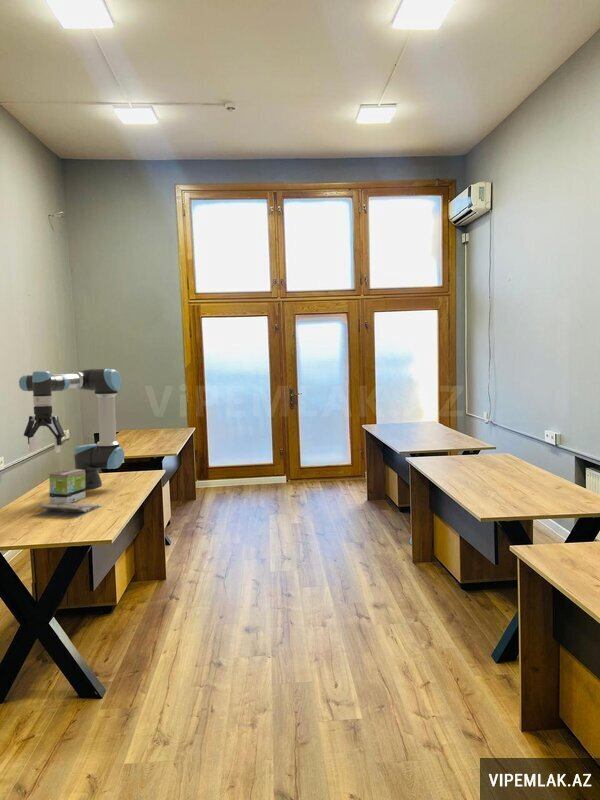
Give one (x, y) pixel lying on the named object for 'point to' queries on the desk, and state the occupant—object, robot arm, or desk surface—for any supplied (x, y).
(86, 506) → the laid board
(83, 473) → the tea box
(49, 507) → the plank
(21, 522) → the desk surface
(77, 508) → the plank
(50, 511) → the grey framed panel
